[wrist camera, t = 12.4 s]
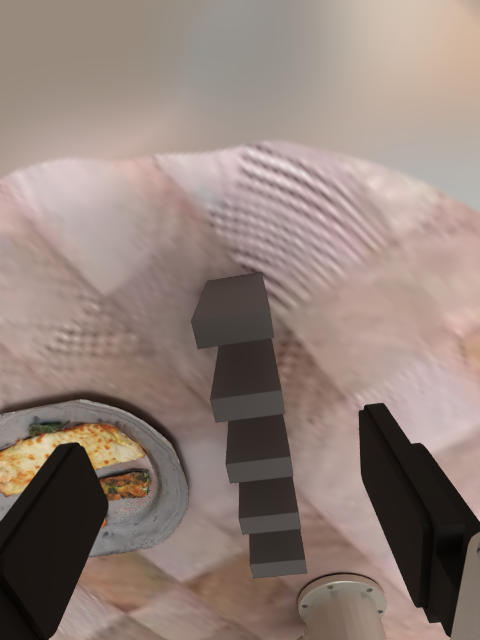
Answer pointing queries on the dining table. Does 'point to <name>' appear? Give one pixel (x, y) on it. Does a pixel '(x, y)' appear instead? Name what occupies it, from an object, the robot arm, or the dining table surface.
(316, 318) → the dining table surface
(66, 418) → the food plate
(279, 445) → the domino
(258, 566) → the domino
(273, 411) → the domino
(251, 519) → the domino
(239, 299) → the domino
